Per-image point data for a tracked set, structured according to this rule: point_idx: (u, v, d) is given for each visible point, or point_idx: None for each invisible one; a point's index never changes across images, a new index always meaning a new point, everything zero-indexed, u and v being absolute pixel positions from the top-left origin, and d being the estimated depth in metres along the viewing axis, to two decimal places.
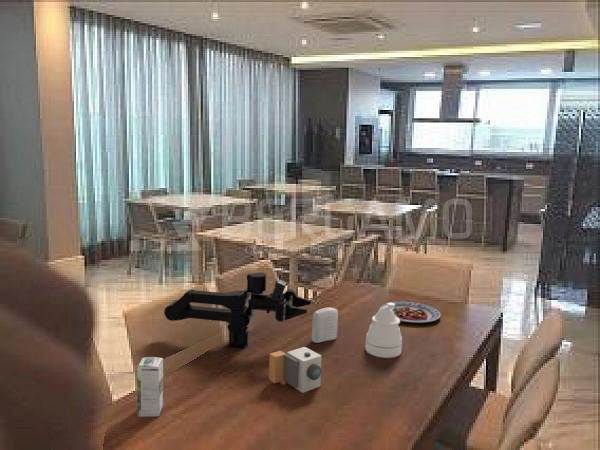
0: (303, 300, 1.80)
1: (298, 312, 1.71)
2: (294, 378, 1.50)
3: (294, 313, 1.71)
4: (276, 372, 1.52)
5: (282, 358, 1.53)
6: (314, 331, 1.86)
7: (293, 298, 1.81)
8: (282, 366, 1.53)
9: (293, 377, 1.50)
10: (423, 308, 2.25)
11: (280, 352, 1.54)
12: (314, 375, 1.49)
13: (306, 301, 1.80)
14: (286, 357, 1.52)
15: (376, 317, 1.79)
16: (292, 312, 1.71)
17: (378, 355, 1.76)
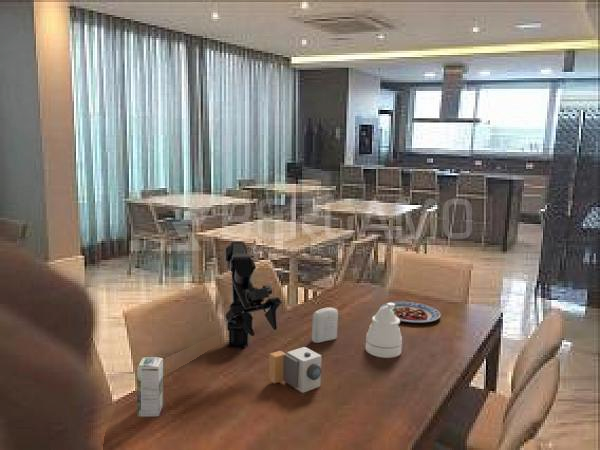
0: (272, 321, 1.62)
1: (246, 328, 1.56)
2: (294, 378, 1.50)
3: (243, 325, 1.57)
4: (276, 372, 1.52)
5: (282, 358, 1.53)
6: (314, 331, 1.86)
7: (269, 310, 1.64)
8: (282, 366, 1.53)
9: (293, 377, 1.50)
10: (423, 308, 2.25)
11: (280, 352, 1.54)
12: (314, 375, 1.49)
13: (273, 324, 1.62)
14: (286, 357, 1.52)
15: (376, 317, 1.79)
16: (243, 323, 1.57)
17: (378, 355, 1.76)
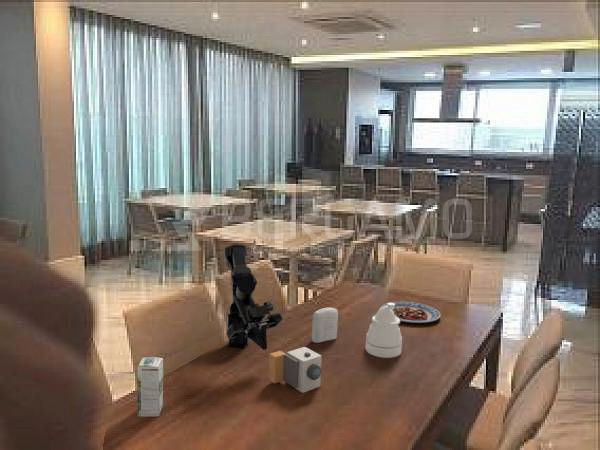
0: (263, 340, 1.59)
1: (258, 342, 1.59)
2: (294, 378, 1.50)
3: (255, 339, 1.59)
4: (276, 372, 1.52)
5: (282, 358, 1.53)
6: (314, 331, 1.86)
7: (260, 329, 1.61)
8: (282, 366, 1.53)
9: (293, 377, 1.50)
10: (423, 308, 2.25)
11: (280, 352, 1.54)
12: (314, 375, 1.49)
13: None
14: (286, 357, 1.52)
15: (376, 317, 1.79)
16: (255, 337, 1.60)
17: (378, 355, 1.76)
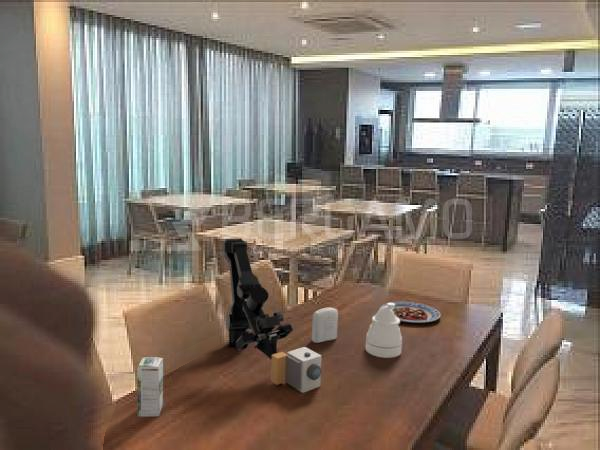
0: (273, 352, 1.55)
1: (268, 354, 1.55)
2: (296, 379, 1.49)
3: (265, 351, 1.55)
4: (278, 373, 1.51)
5: (284, 359, 1.52)
6: (314, 331, 1.86)
7: (270, 340, 1.57)
8: (284, 367, 1.52)
9: (295, 378, 1.49)
10: (423, 308, 2.25)
11: (282, 354, 1.53)
12: (314, 375, 1.49)
13: None
14: (288, 358, 1.51)
15: (376, 317, 1.79)
16: (265, 348, 1.56)
17: (378, 355, 1.76)
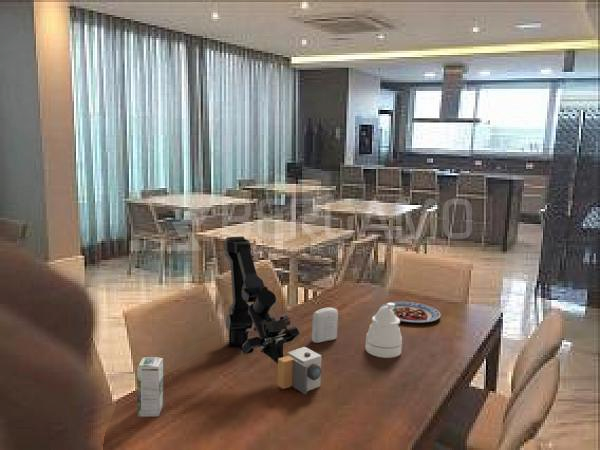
0: (280, 356, 1.53)
1: (275, 358, 1.52)
2: (303, 384, 1.46)
3: (272, 355, 1.53)
4: (285, 377, 1.49)
5: (291, 363, 1.49)
6: (314, 331, 1.86)
7: (276, 344, 1.54)
8: (290, 371, 1.50)
9: (302, 383, 1.47)
10: (423, 308, 2.25)
11: (288, 357, 1.51)
12: (314, 375, 1.49)
13: None
14: (295, 362, 1.49)
15: (376, 317, 1.79)
16: (271, 353, 1.53)
17: (378, 355, 1.76)
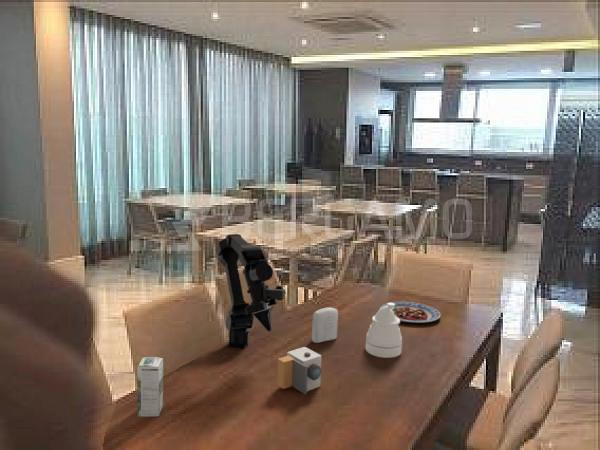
0: None
1: (265, 323, 1.62)
2: (303, 384, 1.46)
3: (262, 319, 1.62)
4: (285, 377, 1.49)
5: (291, 363, 1.49)
6: (314, 331, 1.86)
7: None
8: (290, 371, 1.50)
9: (302, 383, 1.47)
10: (423, 308, 2.25)
11: (288, 357, 1.51)
12: (314, 375, 1.49)
13: None
14: (295, 362, 1.49)
15: (376, 317, 1.79)
16: (262, 317, 1.62)
17: (378, 355, 1.76)
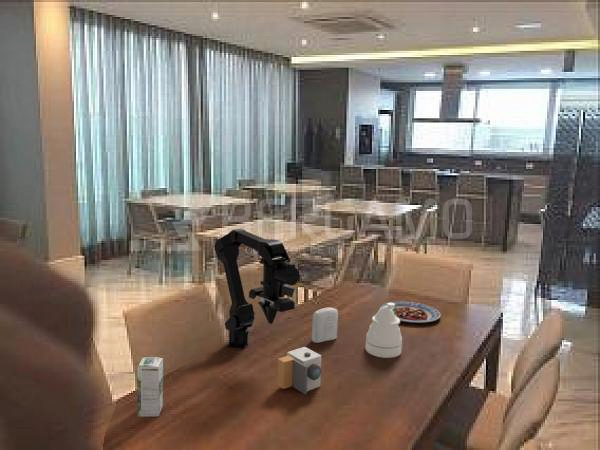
0: None
1: (272, 316, 1.67)
2: (303, 384, 1.46)
3: (271, 313, 1.66)
4: (285, 377, 1.49)
5: (291, 363, 1.49)
6: (314, 331, 1.86)
7: None
8: (290, 371, 1.50)
9: (302, 383, 1.47)
10: (423, 308, 2.25)
11: (288, 357, 1.51)
12: (314, 375, 1.49)
13: None
14: (295, 362, 1.49)
15: (376, 317, 1.79)
16: (272, 311, 1.66)
17: (378, 355, 1.76)
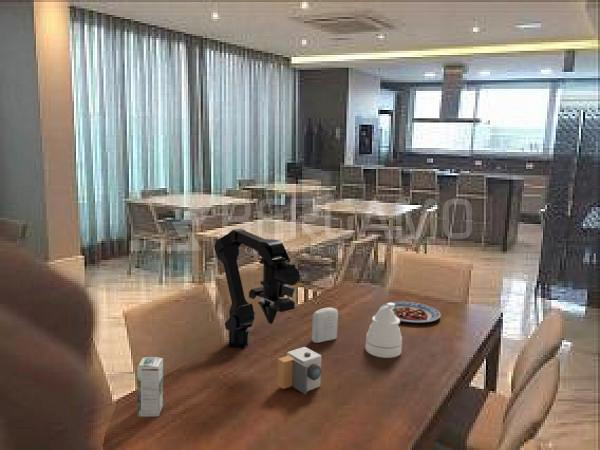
0: None
1: (272, 316, 1.67)
2: (303, 384, 1.46)
3: (271, 313, 1.66)
4: (285, 377, 1.49)
5: (291, 363, 1.49)
6: (314, 331, 1.86)
7: None
8: (290, 371, 1.50)
9: (302, 383, 1.47)
10: (423, 308, 2.25)
11: (288, 357, 1.51)
12: (314, 375, 1.49)
13: None
14: (295, 362, 1.49)
15: (376, 317, 1.79)
16: (272, 311, 1.66)
17: (378, 355, 1.76)
